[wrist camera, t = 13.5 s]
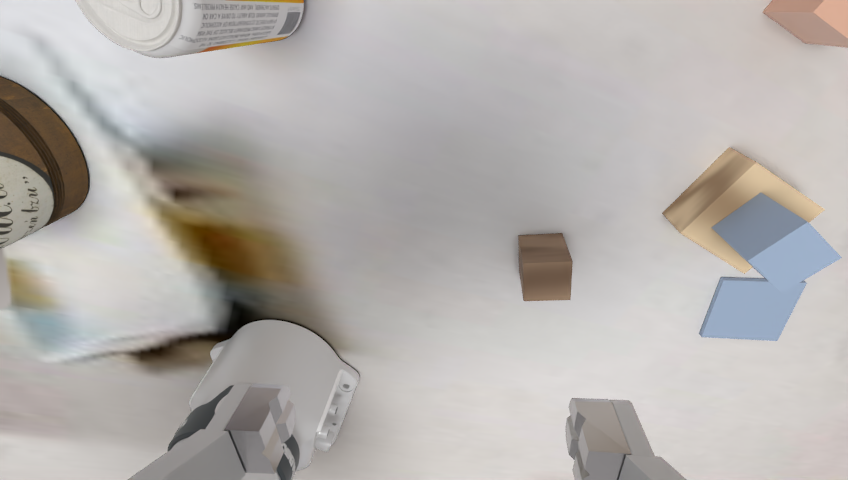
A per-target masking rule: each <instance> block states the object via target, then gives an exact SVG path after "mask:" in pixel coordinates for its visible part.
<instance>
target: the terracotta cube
mask: <svg viewBox="0 0 848 480" xmlns="http://www.w3.org/2000/svg"><path fill="white" fill-rule="evenodd" d="M763 13H764V14H766V15H767V16H768V17H770V18H771V19H772V20H774V21H775V22H776V23H778V24H779V25H781V26H782V27H783V28H785V29H786V30H787V31H789V32H790V33H792V34H793V35H794V36H796V37H797V38H798V39H800V40H801V41H802V42H804V43H808V44H818V45H827V46H837V47H847V48H848V0H772V2H771V3H770V4H769V5H768V6H767V7H766V8H765V10H764V11H763Z"/></svg>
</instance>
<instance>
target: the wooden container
mask: <svg viewBox="0 0 848 480" xmlns="http://www.w3.org/2000/svg"><path fill="white" fill-rule="evenodd" d="M87 192H88V172H87V167H86V163H85V160H84V157H83V155H82V152H81V150H80V148H79V146H78V144H77V142H76V140H75V138H74V137H73V135H72V134H71V132H70V131H69V129H68V128H67V127H66V125H65V124H64V123H63V122H62V121H61V119H60V118H59V117H58V116H57V115H56V114H55V113H54V112H53V111H52V110H51V109H50V108H49V107H48V106H47V105H46V104H45V103H43V102H42V101H41V100H40V99H39V98H37V97H36V96H35V95H34V94H32V93H30V92H29V91H28V90H26V89H25V88H23V87H21V86H20V85H18V84H16V83H14V82H12V81H10V80H7V79H5V78H3V77H0V249H2V248H4V247H6V246H8V245H10V244H12V243H14V242H16V241H18V240H20V239H22V238H24V237H26V236H28V235H30V234H32V233H34V232H36V231H37V230H39V229H41V228H42V227H44V226H47V225H49V224H51V223H53V222H55V221H57V220H58V219H60V218H62V217H64V216H66V215H68V214H70V213H72V212H73V211H75V210H76V209H78V208H79V207H80V205H81V204H82V203H83V202H84V200H85V197H86V194H87Z"/></svg>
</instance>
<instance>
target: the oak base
mask: <svg viewBox="0 0 848 480" xmlns="http://www.w3.org/2000/svg"><path fill="white" fill-rule="evenodd" d="M759 193H763V194H764V195H766V196H768V197H769V198H771V199H772V200H774V201H776V202H777V203H779V204H780V205H782V206H783V207H785V208H787V209H788V210H790V211H791V212H793V213H795V214H796V215H798V216H799V217H801V218H803V219H804V220H806V221H807V222H808V223H809V222H810V221H811V220H813V219H814V218H815V217H816V216H818V215H819V214H820V213H821V212H823V211H824V210H825V209H823V208H822V207H820V206H819V205H818V204H816V203H815V202H813V201H812V200H810V199H809V198H807V197H806V196H805V195H803V194H802V193H800V192H799V191H797V190H796V189H794V188H793V187H792V186H790V185H789V184H787V183H786V182H784V181H783V180H781V179H780V178H779V177H777V176H776V175H774V174H773V173H771V172H770V171H768V170H767V169H766V168H764V167H763V166H761V165H760V164H758V163H757V162H755V161H753V160H752V159H750V158H748V157H746V156H744V155H742V154H741V153H739V152H737V151H735V150H733V149H732V148H730V147H729V148H728V149H727V150H726V151H725V152H724V153H723V154H722V155H721V156H720V157H719V158H718V159H717V160H716V161H715V162H714V163H713V164H712V165H711V166H710V167H709V168H708V169H707V170H706V171H705V172H704V173H703V174H702V175H701V176H700V177H699V178H698V179H696V180H695V181H694V182H693V183H692V184H691V185H690V186H689V187H688V188H687V189H686V190H685V191H684V192H683V193H682V194H681V195H680V196H679V197H678V198H677V199H676V200H675V201H674V202H673V203H672V204H671V205H670V206H669V207H668V208H667V209H666V210H665V211H664V212H663V213H662V214H663V215H664V216H665V217H666V218H667V219H668V220H669V221H670V222H671V224H672V225H673V226H674V227H675V228H676V229H677V230H678V231H679V232H680V233H681V234H682V235H684V236H685V237H687V238H689V239H690V240H692V241H693V242H695V243H696V244H698V245H700V246H701V247H703V248H704V249H706V250H708V251H709V252H711V253H712V254H714V255H715V256H717V257H719V258H720V259H722V260H723V261H725V262H727V263H728V264H730V265H731V266H733V267H734V268H736V269H738V270H739V271H741V272H742V273H744V274H745V273H746V272H747V271H749V270H750V269H751V268H752V266H751V265H750V264H749V263H748V262H747V261H746V260H745V259H744V258H742V257H741V256H740V255H739V254H738V253H737V252H736V251H735V250H734V249H733V248H732V247H731V246H730V245H729V244H728V243H727V242H726V241H725V240H724V239H723V238H722V237H721V236H720V235H719V234H718V233H716V232H715V231H714V230H713V229H712V227H713V226H714V225H716V224H717V223H719V222H720V221H721V220H723V219H724V218H726V217H727V216H728V215H730V214H731V213H733V212H734V211H735V210H737V209H738V208H740V207H741V206H742V205H744V204H745V203H747V202H748V201H749V200H751V199H752V198H754V197H755V196H756V195H758V194H759Z"/></svg>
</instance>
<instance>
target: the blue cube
mask: <svg viewBox="0 0 848 480" xmlns="http://www.w3.org/2000/svg"><path fill="white" fill-rule="evenodd" d="M712 229H713V230H714V231H715V232H716V233H718V234H719V235H720V236H721V237H722V238H723V239H724V240H725V241H726V242H727V243H728V244H729V245H730V246H731V247H732V248H733V249H734V250H735V251H736V252H737V253H738V254H739V255H740V256H741V257H742V258H744V259H745V260H746V261H747V262H748V263H749V264H750V265H751V266H752V267H753V268H754V269H756V270H757V271H758V272H759V273H760V274H761V275H762V276H763V277H764V278H765V279H766V280H768V281H769V282H770V283H771V284H772V285H773V286H774V287H775V288H776V289H777V290H778V291H779V292H781V293H783V292H784V291H786V290H788V289H789V288H791V287H793V286H795V285H796V284H798V283H800V282H801V281H803V280H805V279H806V278H808V277H810V276H812V275H813V274H815V273H817V272H818V271H820V270H822V269H823V268H825V267H827V266H829V265H830V264H832V263H834V262H835V261H837V260H839V259H840V258H842V257H841V256H840V255H839V254H838V253H837V252H836V251H835V250H834V249H833V248H832V247H831V246H830V245H829V244H828V243H827V242H826V241H825V239H824V238H823V237H822V236H821V235H820V234H819V233H818V232H817V231H816V230H815V229H814V228H813V227H812V226H811V225H810V224H809V223H808V222H807V221H806V220H804V219H803V218H801V217H799V216H798V215H796V214H795V213H793V212H791V211H790V210H788V209H787V208H785V207H783V206H782V205H780V204H779V203H777V202H776V201H774V200H772V199H771V198H769V197H768V196H766V195H764V194H763V193H759V194H758V195H756V196H755V197H754V198H752V199H751V200H749V201H748V202H747V203H745V204H744V205H742V206H741V207H740V208H738V209H737V210H735V211H734V212H733V213H731V214H730V215H728V216H727V217H726V218H724V219H723V220H721V221H720V222H719V223H717V224H716V225H714V226H713V227H712Z"/></svg>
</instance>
